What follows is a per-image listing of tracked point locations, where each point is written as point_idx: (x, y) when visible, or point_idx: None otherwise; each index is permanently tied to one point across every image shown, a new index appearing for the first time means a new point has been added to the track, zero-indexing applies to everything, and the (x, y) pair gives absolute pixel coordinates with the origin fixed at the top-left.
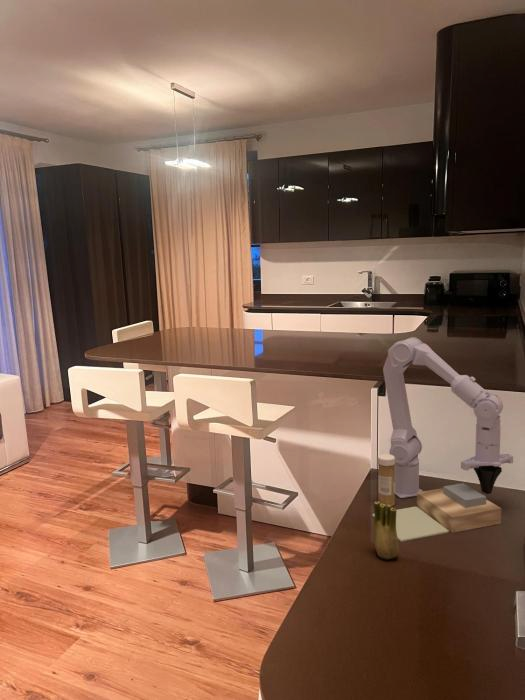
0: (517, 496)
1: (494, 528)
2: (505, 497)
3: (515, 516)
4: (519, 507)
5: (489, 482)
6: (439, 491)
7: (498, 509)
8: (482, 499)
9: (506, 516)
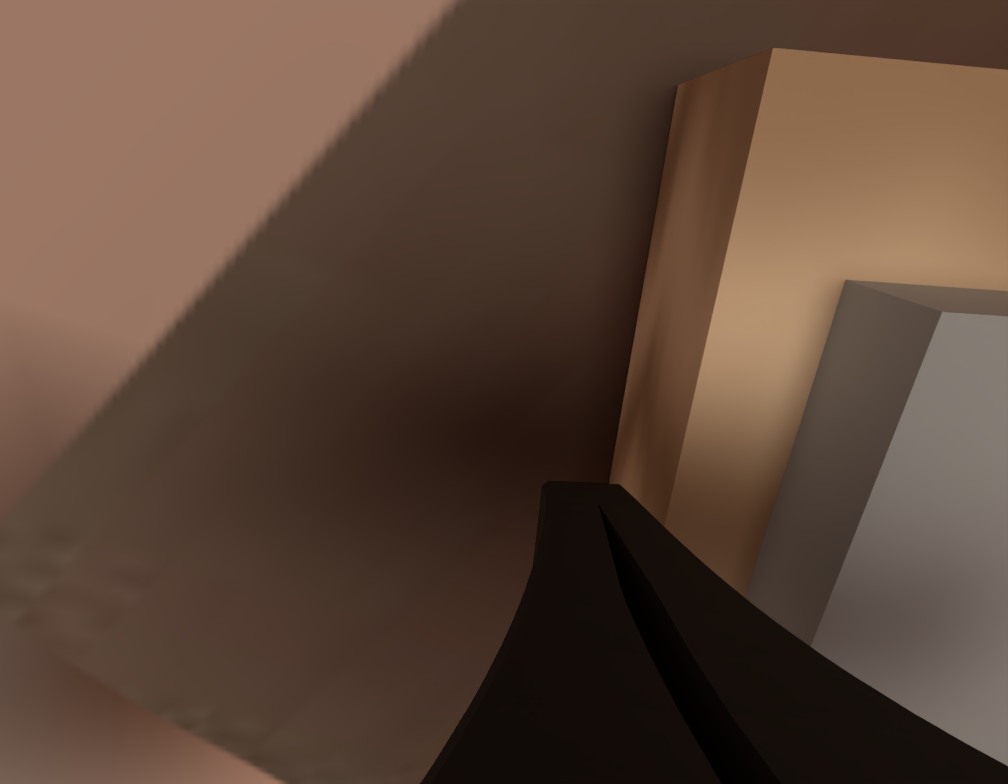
0: (39, 508)
1: (848, 14)
2: (176, 532)
3: (379, 159)
4: (179, 316)
5: (699, 605)
6: None
7: (822, 57)
8: (989, 306)
9: (476, 204)
